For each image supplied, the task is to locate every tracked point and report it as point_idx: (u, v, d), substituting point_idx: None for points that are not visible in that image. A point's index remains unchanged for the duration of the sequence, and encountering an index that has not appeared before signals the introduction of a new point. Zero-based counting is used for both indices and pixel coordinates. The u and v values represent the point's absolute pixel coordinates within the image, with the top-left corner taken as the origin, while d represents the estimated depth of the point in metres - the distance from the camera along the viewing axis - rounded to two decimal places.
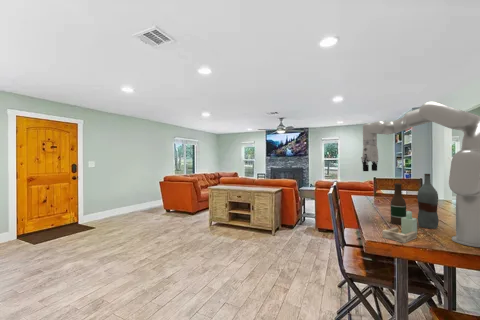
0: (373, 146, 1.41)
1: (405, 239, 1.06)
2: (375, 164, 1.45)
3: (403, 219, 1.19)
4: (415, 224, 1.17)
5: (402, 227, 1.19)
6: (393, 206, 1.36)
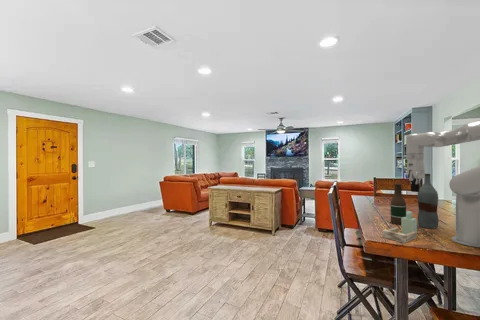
0: (420, 161, 1.20)
1: (405, 239, 1.06)
2: None
3: (403, 219, 1.19)
4: (415, 224, 1.17)
5: (402, 227, 1.19)
6: (393, 206, 1.36)
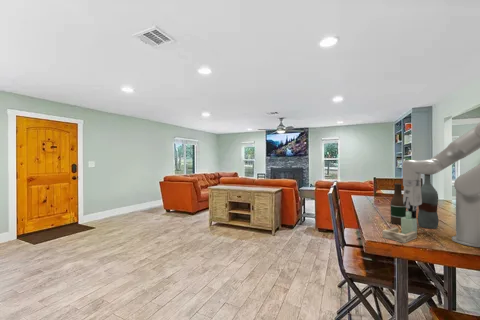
0: (417, 188, 1.18)
1: (405, 239, 1.06)
2: (413, 209, 1.20)
3: (403, 219, 1.19)
4: (415, 224, 1.17)
5: (402, 227, 1.19)
6: (393, 206, 1.36)
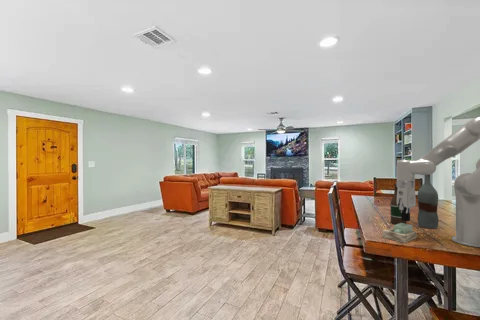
0: (410, 189, 1.14)
1: (405, 239, 1.06)
2: None
3: None
4: (407, 230, 1.12)
5: None
6: (393, 206, 1.36)
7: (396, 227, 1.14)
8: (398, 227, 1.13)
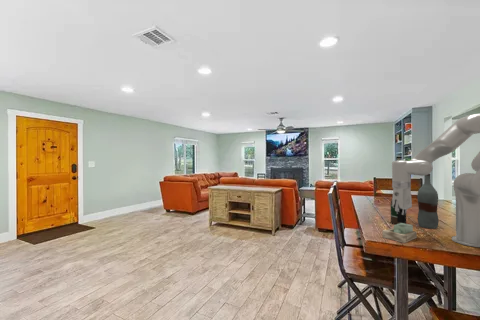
0: (406, 190, 1.12)
1: (405, 239, 1.06)
2: None
3: None
4: (407, 230, 1.12)
5: None
6: None
7: (396, 227, 1.14)
8: (398, 227, 1.13)
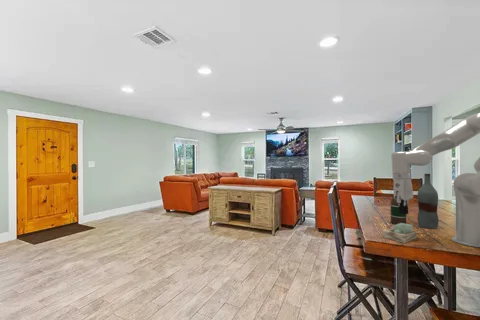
0: (407, 181, 1.12)
1: (405, 239, 1.06)
2: None
3: None
4: (407, 230, 1.12)
5: None
6: (393, 206, 1.36)
7: (396, 227, 1.14)
8: (398, 227, 1.13)
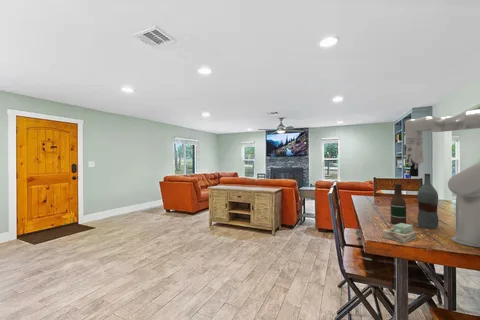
0: (419, 145, 1.22)
1: (405, 239, 1.06)
2: None
3: None
4: (407, 230, 1.12)
5: None
6: (393, 206, 1.36)
7: (396, 227, 1.14)
8: (398, 227, 1.13)
